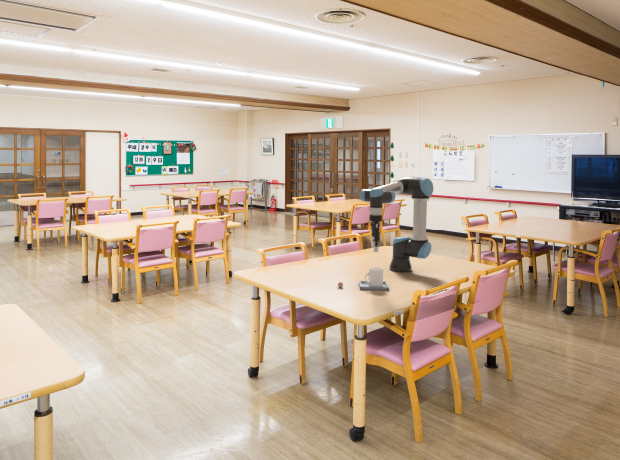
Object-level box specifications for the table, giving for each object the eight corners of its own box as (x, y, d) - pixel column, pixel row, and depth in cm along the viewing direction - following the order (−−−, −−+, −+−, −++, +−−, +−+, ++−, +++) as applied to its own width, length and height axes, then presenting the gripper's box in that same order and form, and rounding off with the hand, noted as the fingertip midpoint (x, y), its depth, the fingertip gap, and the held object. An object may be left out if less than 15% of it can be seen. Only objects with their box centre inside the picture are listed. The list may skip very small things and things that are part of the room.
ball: (343, 286, 294) (343, 281, 293) (343, 288, 291) (343, 282, 290) (337, 286, 294) (337, 281, 293) (337, 288, 291) (337, 282, 290)
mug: (360, 285, 295) (361, 268, 293) (377, 283, 300) (378, 266, 298) (368, 289, 287) (368, 271, 286) (385, 287, 292) (386, 269, 290)
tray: (386, 284, 301) (386, 281, 301) (388, 290, 287) (389, 287, 287) (358, 283, 302) (358, 280, 301) (360, 289, 288) (360, 286, 288)
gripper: (367, 211, 301) (366, 245, 305) (371, 217, 277) (370, 253, 280) (379, 212, 301) (378, 245, 304) (384, 217, 276) (383, 253, 280)
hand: (374, 249), depth 292 cm, fingers open, 13 cm apart
